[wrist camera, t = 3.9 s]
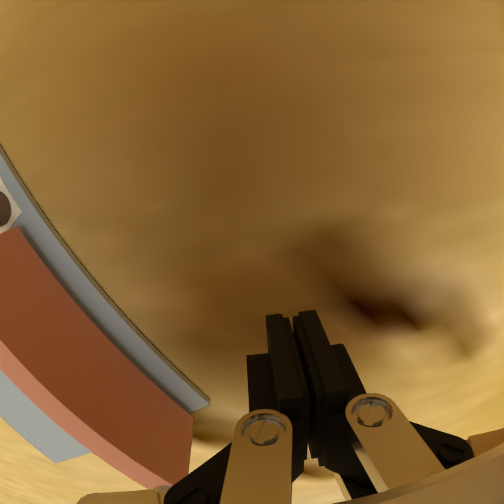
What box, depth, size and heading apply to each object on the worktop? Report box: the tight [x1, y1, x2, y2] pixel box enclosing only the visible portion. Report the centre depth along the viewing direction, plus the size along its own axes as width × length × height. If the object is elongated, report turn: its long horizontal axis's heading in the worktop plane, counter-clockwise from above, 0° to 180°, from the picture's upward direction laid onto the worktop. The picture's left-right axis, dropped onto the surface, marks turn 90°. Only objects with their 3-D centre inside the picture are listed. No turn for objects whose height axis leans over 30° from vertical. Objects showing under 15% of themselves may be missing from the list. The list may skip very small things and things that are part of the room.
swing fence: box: [0, 225, 194, 491], centre depth 9 cm, size 11×1×4 cm, turn 35°
